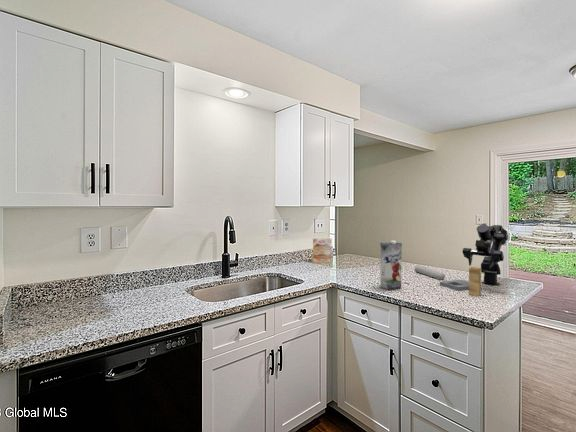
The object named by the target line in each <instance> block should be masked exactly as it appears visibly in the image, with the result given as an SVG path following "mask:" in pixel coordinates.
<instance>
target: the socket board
mask: <svg viewBox="0 0 576 432" xmlns="http://www.w3.org/2000/svg"><path fill="white" fill-rule="evenodd" d="M439 286H442V287H444V288H447V289H451V290H453V291H456V292H461V291H469V280H465V279H454V280H441V281H439Z"/></svg>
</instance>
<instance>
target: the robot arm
mask: <svg viewBox="0 0 576 432" xmlns="http://www.w3.org/2000/svg"><path fill="white" fill-rule="evenodd" d="M476 231H477V235H478V238H480V239H476V241H475V250H472V248H468V247H464V248H462V255H463V257H464V258H466V259H467V260H468V265H469V267H471V265H472V262H473V257H474V256H479V257H480V256H481V257H483V259H482V262H481V264H480V268H481V274H482V273H483V274H484V275H483V281H481V284H486V285H488V286H489V285H490V286H495V285H500V283H499V282H498V275H501V267H500V264H499V263H500V262H503V261H504V258H505V257H504V253H503V251H502V250H501V248H502V246H503V245H506V243H507V241H508V240H509V234H508V231H507V229H504V228H503V225H500V224H494V225H491V226H489V225H487V223H481V224H480V225H478V226H477V227H476Z"/></svg>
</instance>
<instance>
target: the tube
mask: <svg viewBox="0 0 576 432" xmlns="http://www.w3.org/2000/svg"><path fill="white" fill-rule="evenodd" d="M414 272H416V273H419V274H422V275H425V276H427V277H431V278H432V279H433V278H434V279H436V280H440V281H444V279H446V275H445V273H444V272H441V271H438V270H436V269H432V268H428V267H426V266H422V265H420V264H416V265H415V267H414Z"/></svg>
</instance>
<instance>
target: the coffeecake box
mask: <svg viewBox="0 0 576 432" xmlns="http://www.w3.org/2000/svg"><path fill="white" fill-rule="evenodd" d="M332 247H333V246H332V238H322V237H321V238H318V237H317V238H313V239H312V263H314V264H315V263H316V264H317V263H318V264H332V251H333V250H332Z"/></svg>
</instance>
